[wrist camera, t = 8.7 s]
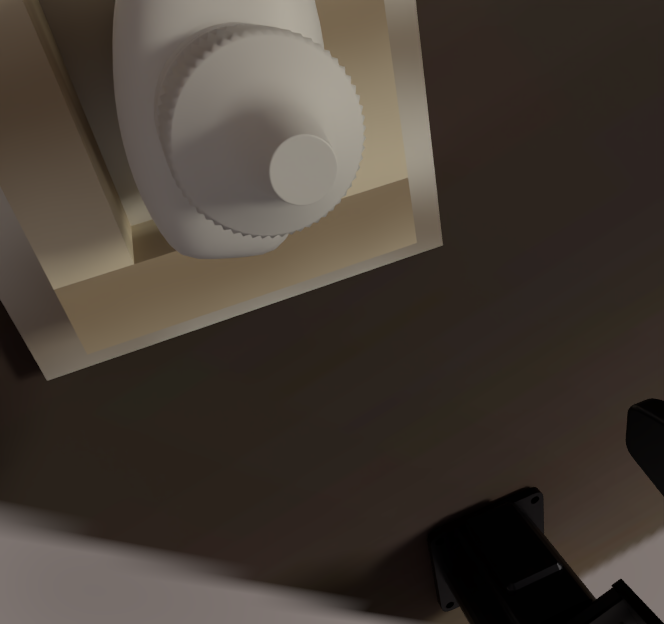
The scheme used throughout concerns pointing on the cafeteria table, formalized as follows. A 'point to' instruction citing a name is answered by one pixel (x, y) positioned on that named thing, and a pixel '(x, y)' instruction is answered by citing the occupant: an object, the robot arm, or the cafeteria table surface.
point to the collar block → (132, 214)
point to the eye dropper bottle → (233, 120)
